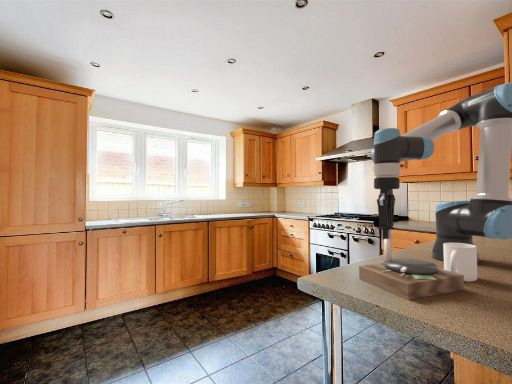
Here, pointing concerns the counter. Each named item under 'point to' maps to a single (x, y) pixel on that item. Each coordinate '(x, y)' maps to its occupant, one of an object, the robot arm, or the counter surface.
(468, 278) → the mug
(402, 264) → the gray pegged oval disc
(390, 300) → the counter surface
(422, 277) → the board
